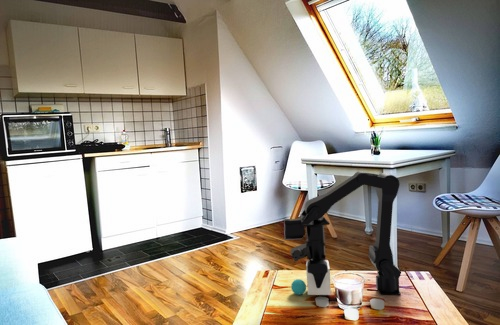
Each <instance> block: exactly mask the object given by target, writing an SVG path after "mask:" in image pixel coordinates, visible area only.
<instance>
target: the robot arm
mask: <svg viewBox="0 0 500 325" xmlns="http://www.w3.org/2000/svg"><path fill="white" fill-rule="evenodd" d="M400 184H401V183H400V180H399V179H398V177H397V176H395V175H392V174H390V173H389V172H381V173H379V174H377V173H372V172H371V173H370V172H364V171H362V170H359V171H356V172H355V173H354V174H353V175H352V176H350V177H348V179H347V178H346V179H345V180H343V181H342V182H341V183H339V184H338V185H336V186H335V187H333V188H332V189H331V190H329V191H328V192H326V193H324V194H321V195H317V196H315V197H313V198H311V199H308V200H307V201H305V203H304V210H303V211H302V212H301V214H300V215H299V217H298V218H284V219H283V220H284V221H283V222H284V224H283V226H284V227H283V232H284V234H283V235H284V240H286V241H288V240H290V241H291V240H302V239H303V238H304V237H305V236H306V241H305V243H304V244H300V245H297V246H295V247H292V248H290V255H291V259H293V262H298V261H299V260H301V259H304V258H307V260H310V261H309V262H308V263H307V268H308V273H311V274H313V276H314V280H315V283H316V287H317V288H320V287H321V285H322V282H323V280H324V277H325V275H326V273H327V272H328V266H327V262H326V261H325V260H326V241H325V226H329V225H330V224H331V223H330V222H329V220H328V219H326V217H325V216H326V214H327V213H328V212H329V211H330V209H331V208H332V207H333V206H334V205H335V204H337V203H338V202H340V201H341V200H344V198H346V197H347V196H349V195H350V194H352V193H354V192H355V191H356V190H358V189H359V188H361V187H362V186H364V185H365V186H369V187H372V188H375V190H376V191H375V192H376V195H377V199H378V200H377V202H378V203H377V204H378V205H377V217H376V218H377V220H376V233H375V234H376V235H375V242H374V244H373V245H368V248H369V250H368V251H369V252H368V255H367V257H368V258H369V259H370V262H371V264H373V266H374V267H375V268H376V270H377V272H376V273H377V275H375V287H376V290H377V291H378V292H379V295H381V296H383V295H384V296H386V295H387V296H389V295H390V296H393V295H395V296H398V295H399V296H400V295H401V294H402V292H401V291H400V277H401V274H402V271H401V270H400V268H398V266H396V265H395V263H394V255H393V251H392V247H391V235H392V234H391V233H392V221H393V208H394V206H393V205H394V202H395V199H397V198H396V197H397V196H398V193H399V189H400ZM305 227H306V228H305ZM305 229H306V230H305Z"/></svg>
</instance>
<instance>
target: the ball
mask: <svg viewBox="0 0 500 325" xmlns="http://www.w3.org/2000/svg"><path fill="white" fill-rule="evenodd" d="M290 288H291V291H292V293H294V294H295V295H299V296H300V295H303V294H304V293H305V292H306V291H307V283H306V282H305V281H304V280H303V279H300V278H299V279H298V278H297V279H294V280H293V281H292V283H291V287H290Z"/></svg>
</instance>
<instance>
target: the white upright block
mask: <svg viewBox="0 0 500 325" xmlns="http://www.w3.org/2000/svg"><path fill="white" fill-rule="evenodd" d="M309 261H310V260H309V259H307V260H306V262H305V264H306V265H305V267H306V268H305V269H306V290H307V296H316V295H317V296H318V295H319V296H331V295H332V290H331V288H332V287H331V271H330V270H331V269H330V263H329V260H328V259H325V261H326V262H327V266H328V272H327V273H326V275H325V277H324V280H323V282H322V285H321V287H320V288H317V287H316V283H315V280H314V276H313V274H311V273H308V268H307V263H308V262H309Z"/></svg>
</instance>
